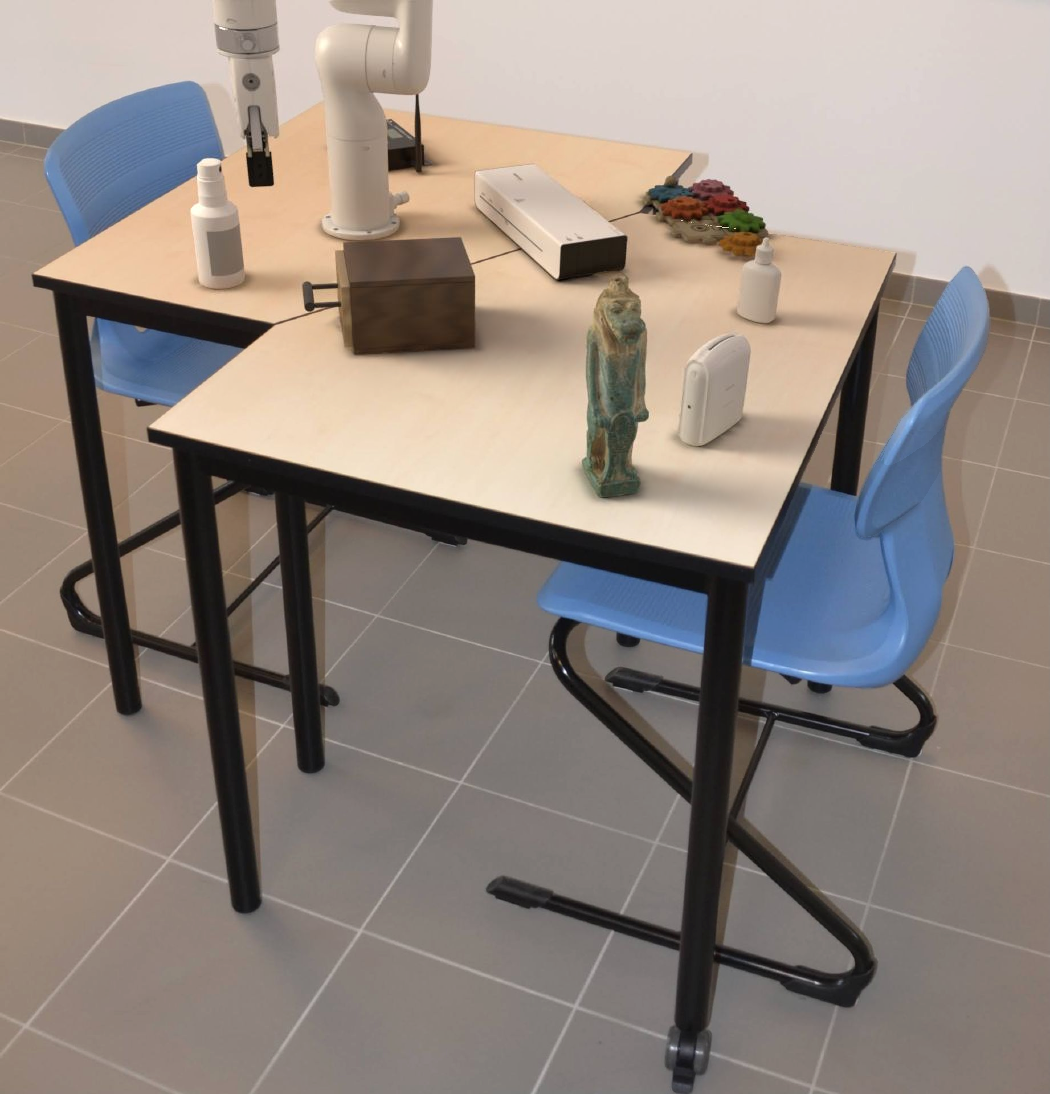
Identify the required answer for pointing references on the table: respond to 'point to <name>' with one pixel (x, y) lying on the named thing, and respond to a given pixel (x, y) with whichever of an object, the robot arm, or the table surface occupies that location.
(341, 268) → the drawer
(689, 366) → the photo printer
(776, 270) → the eye dropper bottle
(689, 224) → the gear puzzle
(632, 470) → the statue
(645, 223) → the table surface
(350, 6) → the robot arm
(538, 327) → the table surface
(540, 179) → the laminator
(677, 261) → the table surface
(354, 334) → the cabinet
